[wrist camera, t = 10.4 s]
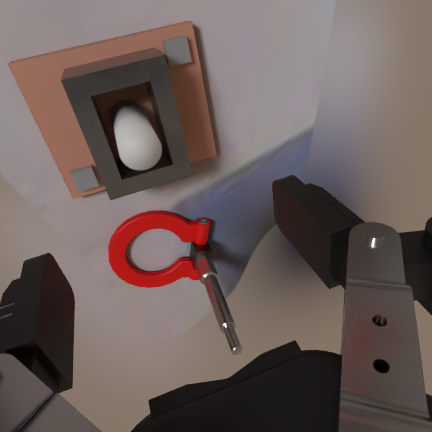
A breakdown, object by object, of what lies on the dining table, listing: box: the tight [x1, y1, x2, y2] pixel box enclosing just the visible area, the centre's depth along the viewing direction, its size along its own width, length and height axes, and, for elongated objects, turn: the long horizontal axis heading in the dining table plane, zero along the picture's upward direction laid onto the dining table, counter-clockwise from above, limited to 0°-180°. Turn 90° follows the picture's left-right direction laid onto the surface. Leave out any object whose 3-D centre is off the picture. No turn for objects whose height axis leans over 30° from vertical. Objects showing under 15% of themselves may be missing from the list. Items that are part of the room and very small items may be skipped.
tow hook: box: [108, 211, 242, 355], centre depth 28 cm, size 8×13×9 cm
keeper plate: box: [8, 21, 217, 199], centre depth 23 cm, size 10×12×8 cm
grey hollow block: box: [61, 47, 193, 200], centre depth 23 cm, size 8×6×4 cm
